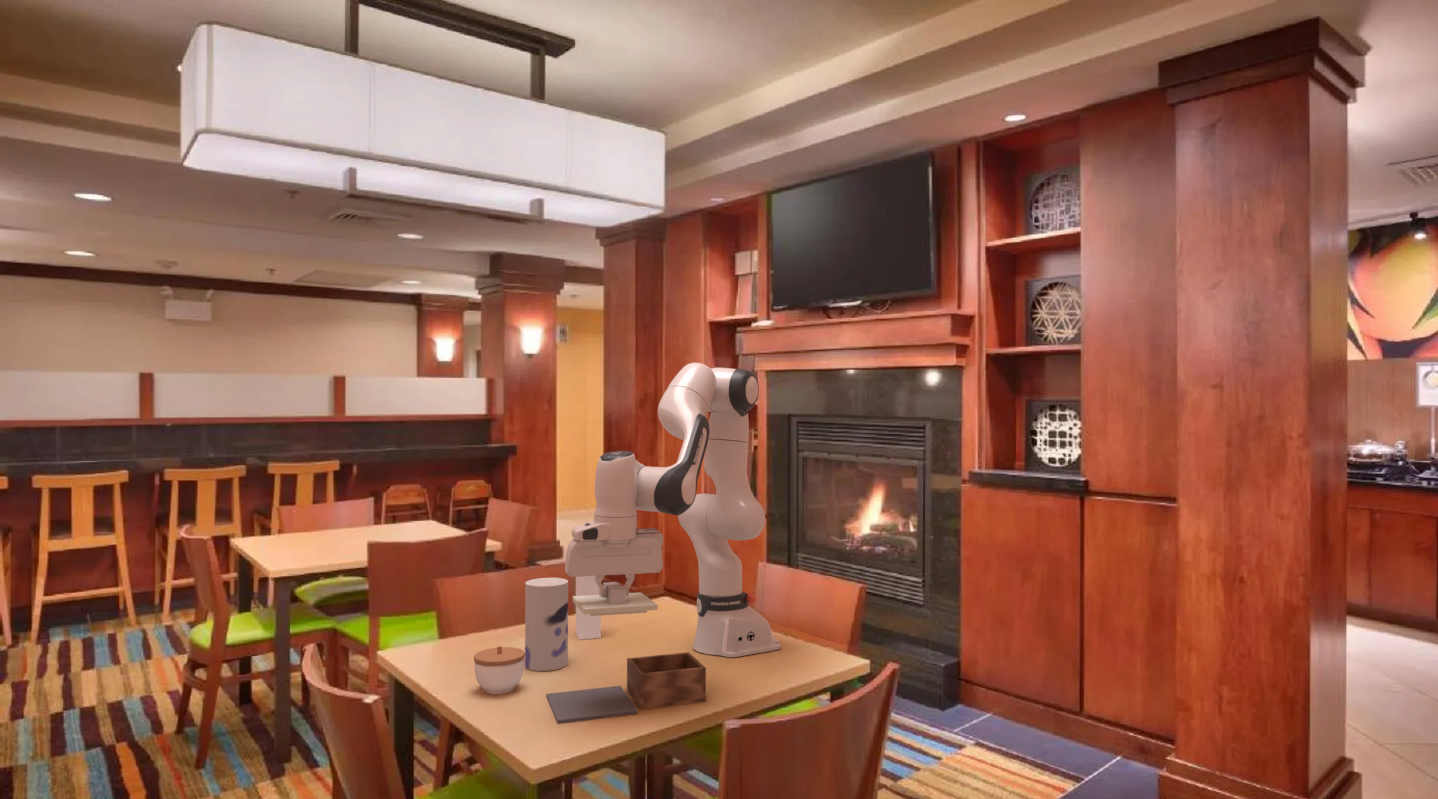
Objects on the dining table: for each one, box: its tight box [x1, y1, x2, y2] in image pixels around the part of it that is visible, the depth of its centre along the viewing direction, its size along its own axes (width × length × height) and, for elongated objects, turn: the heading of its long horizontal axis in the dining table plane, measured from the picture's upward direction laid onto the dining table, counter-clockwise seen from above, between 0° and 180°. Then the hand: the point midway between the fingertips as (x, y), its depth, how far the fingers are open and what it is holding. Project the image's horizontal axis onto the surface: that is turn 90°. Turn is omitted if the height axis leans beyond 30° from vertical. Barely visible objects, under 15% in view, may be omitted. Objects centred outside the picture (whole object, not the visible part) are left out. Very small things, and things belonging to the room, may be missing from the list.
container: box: [524, 577, 569, 672], centre depth 198 cm, size 10×10×20 cm
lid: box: [572, 581, 659, 616], centre depth 172 cm, size 15×13×5 cm
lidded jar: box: [473, 645, 525, 695], centre depth 180 cm, size 11×11×9 cm
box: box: [626, 651, 707, 710], centre depth 176 cm, size 14×12×7 cm
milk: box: [575, 576, 602, 641], centre depth 223 cm, size 6×6×22 cm
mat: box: [546, 685, 639, 724], centre depth 171 cm, size 16×16×1 cm
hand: (614, 596), depth 172 cm, fingers closed on lid, 3 cm apart
